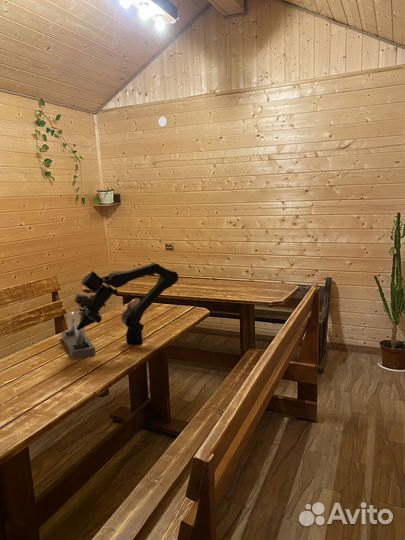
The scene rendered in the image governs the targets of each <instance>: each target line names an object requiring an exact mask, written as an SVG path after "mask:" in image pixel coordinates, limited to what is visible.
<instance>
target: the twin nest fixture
mask: <svg viewBox="0 0 405 540" xmlns="http://www.w3.org/2000/svg"><path fill="white" fill-rule="evenodd" d="M61 339H62V342H63V344H64V345H65V347H66V349H67V350H68V352H69V355H70V356H71V359H72V360H76V359H81V358H86V357H91V356H95V355H96V348H95V346H94V345H93V343H92V342H91V340H90V339H89V338H88V336H87V335H86V343H84V344H77V343H76V335H75V336H69V332H68V330H66V331H61Z"/></svg>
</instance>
